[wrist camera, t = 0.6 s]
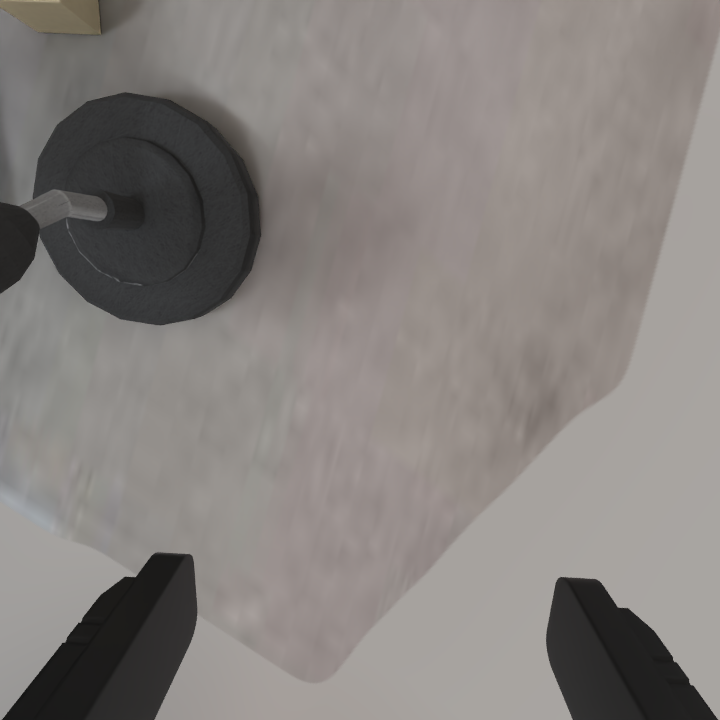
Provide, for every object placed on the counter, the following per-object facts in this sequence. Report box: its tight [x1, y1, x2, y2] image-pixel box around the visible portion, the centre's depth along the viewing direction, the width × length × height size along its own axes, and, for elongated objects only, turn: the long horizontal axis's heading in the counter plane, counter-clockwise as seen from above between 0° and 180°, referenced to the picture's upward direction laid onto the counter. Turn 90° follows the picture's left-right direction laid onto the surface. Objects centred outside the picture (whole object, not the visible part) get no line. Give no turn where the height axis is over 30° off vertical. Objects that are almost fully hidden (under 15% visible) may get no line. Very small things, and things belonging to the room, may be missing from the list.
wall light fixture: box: [0, 92, 261, 325], centre depth 22 cm, size 16×25×20 cm
